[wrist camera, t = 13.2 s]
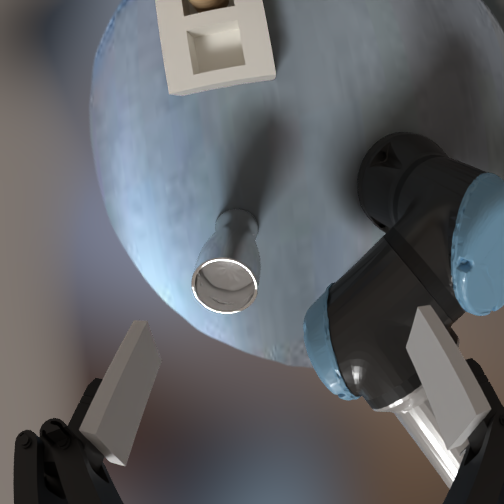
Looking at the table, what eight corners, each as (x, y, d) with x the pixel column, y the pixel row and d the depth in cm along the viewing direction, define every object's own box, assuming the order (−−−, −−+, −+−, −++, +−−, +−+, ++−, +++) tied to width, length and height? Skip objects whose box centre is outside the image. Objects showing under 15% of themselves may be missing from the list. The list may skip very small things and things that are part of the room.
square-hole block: (253, -27, 25) (252, -44, 20) (274, 79, 33) (276, 74, 28) (165, -9, 26) (152, -22, 22) (181, 96, 34) (169, 94, 29)
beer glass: (226, 257, 44) (211, 323, 31) (203, 217, 42) (176, 272, 28) (269, 239, 43) (271, 302, 29) (248, 197, 40) (240, 244, 27)
